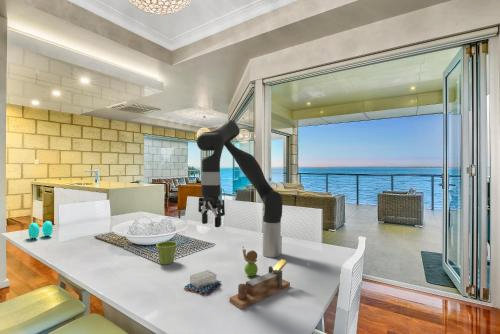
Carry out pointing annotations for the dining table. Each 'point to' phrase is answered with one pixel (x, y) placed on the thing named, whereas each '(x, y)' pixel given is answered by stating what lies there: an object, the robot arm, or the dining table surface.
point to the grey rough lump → (203, 279)
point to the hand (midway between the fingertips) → (211, 225)
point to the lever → (279, 266)
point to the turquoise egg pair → (46, 229)
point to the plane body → (259, 289)
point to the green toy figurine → (250, 262)
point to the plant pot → (166, 252)
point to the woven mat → (203, 288)
